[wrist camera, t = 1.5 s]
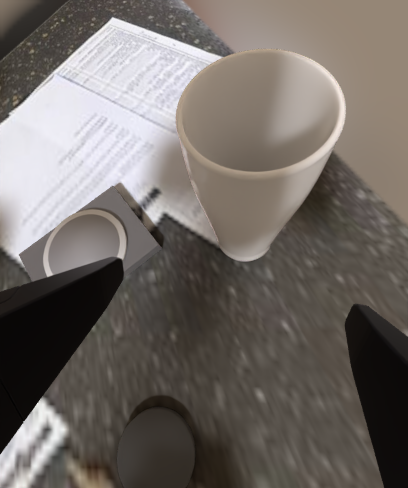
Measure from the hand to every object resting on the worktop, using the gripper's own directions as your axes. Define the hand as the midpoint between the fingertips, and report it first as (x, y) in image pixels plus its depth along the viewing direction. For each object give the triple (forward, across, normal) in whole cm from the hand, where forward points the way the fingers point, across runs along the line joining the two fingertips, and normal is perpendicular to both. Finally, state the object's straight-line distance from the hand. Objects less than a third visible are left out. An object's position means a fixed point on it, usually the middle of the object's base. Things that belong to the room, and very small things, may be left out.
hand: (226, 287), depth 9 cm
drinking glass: (+14, 0, +4) cm, 15 cm away
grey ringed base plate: (+11, +15, +7) cm, 20 cm away
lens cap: (+1, +4, +18) cm, 18 cm away
